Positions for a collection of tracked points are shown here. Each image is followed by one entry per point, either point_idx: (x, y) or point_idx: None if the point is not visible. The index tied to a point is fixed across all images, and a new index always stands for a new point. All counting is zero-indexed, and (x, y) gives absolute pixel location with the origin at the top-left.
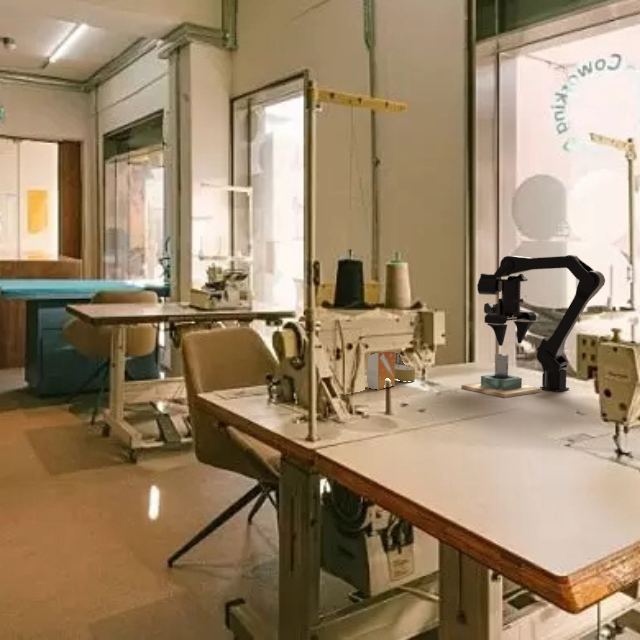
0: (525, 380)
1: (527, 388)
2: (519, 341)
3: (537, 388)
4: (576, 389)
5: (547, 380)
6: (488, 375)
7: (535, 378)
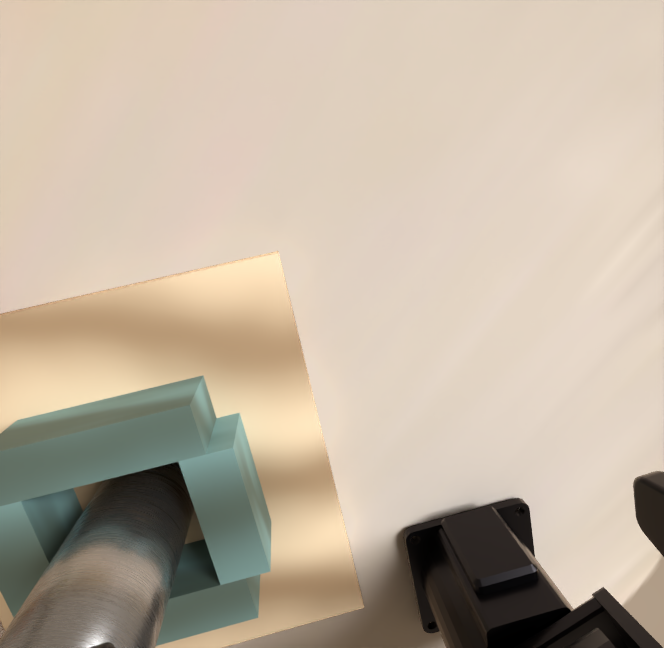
0: (531, 249)
1: (281, 590)
2: (661, 536)
3: (338, 605)
4: (574, 589)
5: (438, 618)
6: (54, 454)
7: (647, 209)
